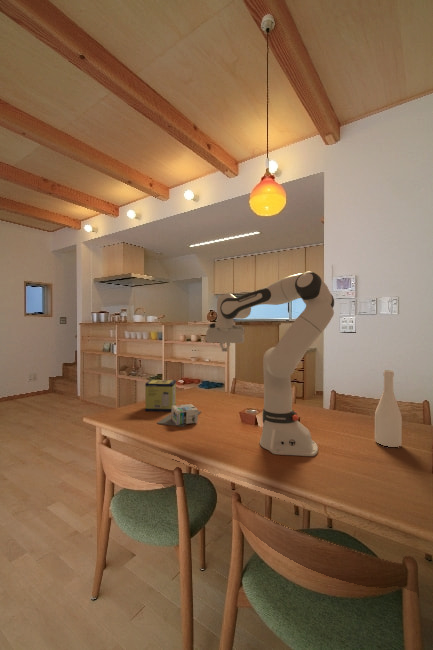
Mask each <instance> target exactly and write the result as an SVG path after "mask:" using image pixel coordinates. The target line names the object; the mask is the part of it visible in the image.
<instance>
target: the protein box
mask: <svg viewBox="0 0 433 650" xmlns="http://www.w3.org/2000/svg"><path fill="white" fill-rule="evenodd" d="M176 386H177V383H176V380H175V379H170V380H169V379H150V380H148V381H146V382H145V387H144V390H145V396H144V397H145V398H144V399H145V401H144V403H145V406H144V407H145V412H170V413H171V410H172V406H175V405H177V404H176V403H177V400H176V399H177V398H176V395H177V394H176V393H177V392H176V391H177V390H176V389H177V387H176Z"/></svg>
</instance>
